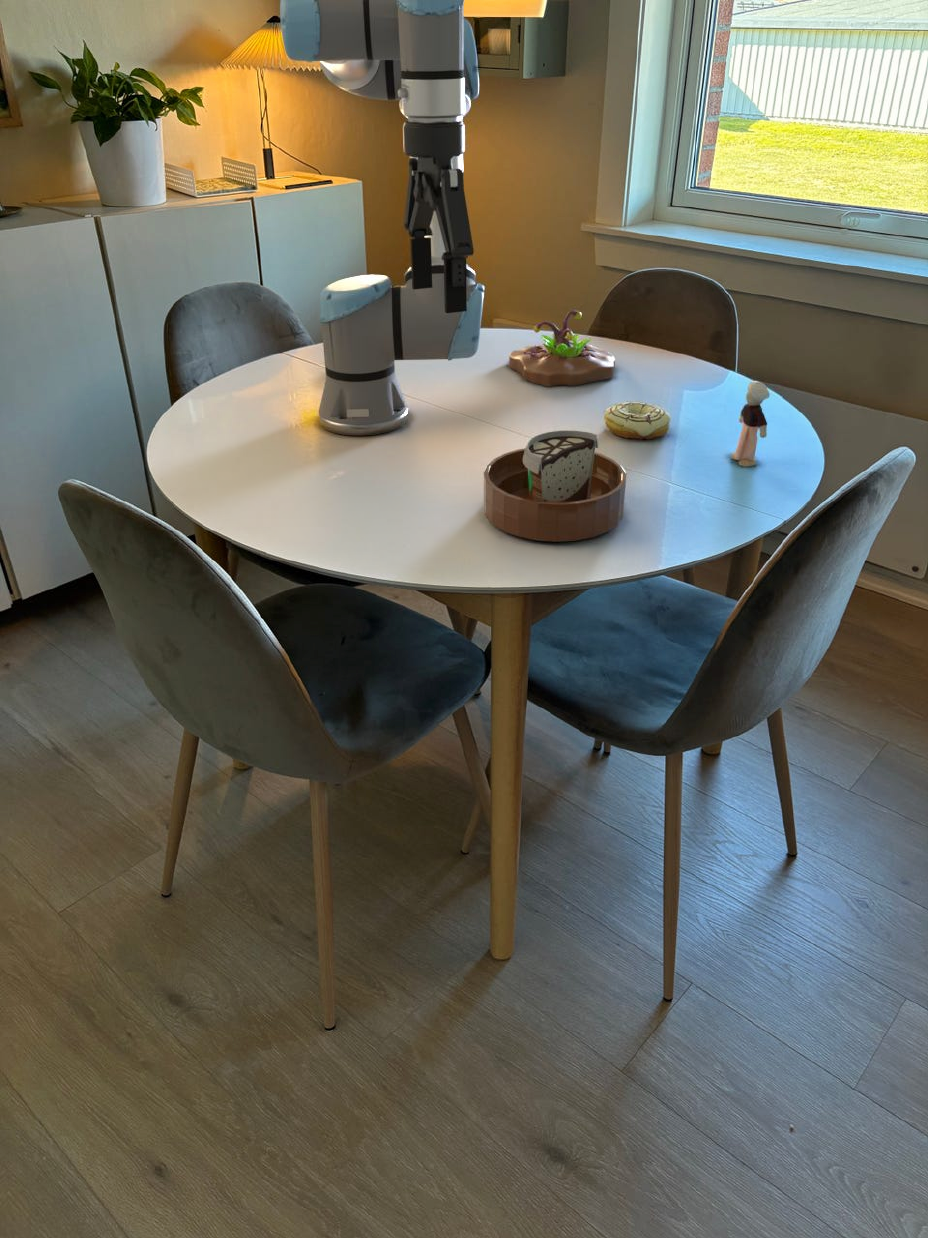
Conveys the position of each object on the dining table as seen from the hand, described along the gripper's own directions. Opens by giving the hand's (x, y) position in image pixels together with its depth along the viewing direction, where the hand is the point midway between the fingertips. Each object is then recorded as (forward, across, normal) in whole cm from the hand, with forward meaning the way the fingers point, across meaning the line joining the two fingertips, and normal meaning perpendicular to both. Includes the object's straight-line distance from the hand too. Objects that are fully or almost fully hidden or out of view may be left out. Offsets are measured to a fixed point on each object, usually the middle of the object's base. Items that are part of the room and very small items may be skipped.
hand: (438, 299), depth 124 cm
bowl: (+27, +15, +11) cm, 33 cm away
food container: (+26, +14, +11) cm, 32 cm away
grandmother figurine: (+27, +10, +46) cm, 54 cm away
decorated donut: (+27, -8, +37) cm, 46 cm away
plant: (+27, -42, +40) cm, 64 cm away
